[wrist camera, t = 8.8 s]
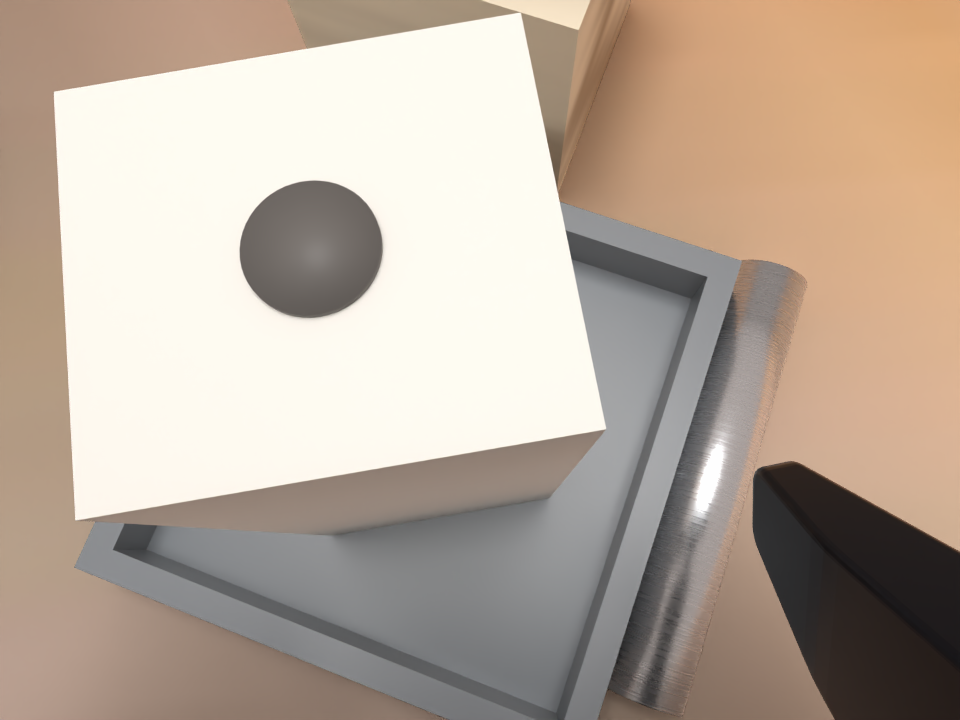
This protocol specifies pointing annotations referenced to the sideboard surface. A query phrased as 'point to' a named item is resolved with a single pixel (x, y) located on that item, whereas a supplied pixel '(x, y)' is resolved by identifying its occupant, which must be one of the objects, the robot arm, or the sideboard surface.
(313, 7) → the birch block
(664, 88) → the sideboard surface
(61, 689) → the sideboard surface
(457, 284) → the cream block
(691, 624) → the cylinder
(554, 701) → the tray
